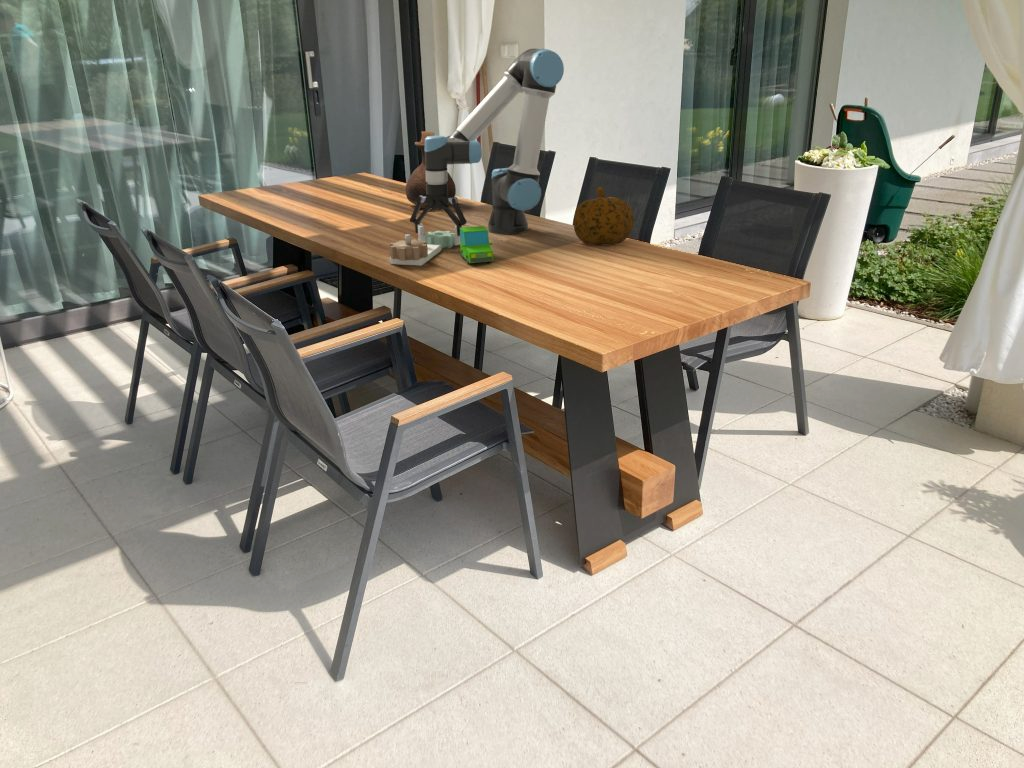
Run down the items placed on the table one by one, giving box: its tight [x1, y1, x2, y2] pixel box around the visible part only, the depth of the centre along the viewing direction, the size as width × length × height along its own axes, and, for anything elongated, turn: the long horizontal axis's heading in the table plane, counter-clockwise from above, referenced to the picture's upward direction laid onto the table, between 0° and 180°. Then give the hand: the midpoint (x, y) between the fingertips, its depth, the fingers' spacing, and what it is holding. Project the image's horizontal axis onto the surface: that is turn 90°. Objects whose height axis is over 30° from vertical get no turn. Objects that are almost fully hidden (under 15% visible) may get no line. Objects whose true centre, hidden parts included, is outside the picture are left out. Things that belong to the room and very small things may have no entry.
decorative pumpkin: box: [573, 186, 635, 247], centre depth 293 cm, size 20×21×20 cm
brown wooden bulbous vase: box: [405, 130, 457, 209], centre depth 355 cm, size 22×22×30 cm
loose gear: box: [424, 230, 456, 250], centre depth 295 cm, size 10×10×4 cm
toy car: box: [459, 225, 494, 265], centre depth 274 cm, size 10×13×10 cm
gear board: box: [389, 225, 442, 267], centre depth 278 cm, size 12×23×9 cm, turn 166°
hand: (438, 243), depth 295 cm, fingers open, 13 cm apart
